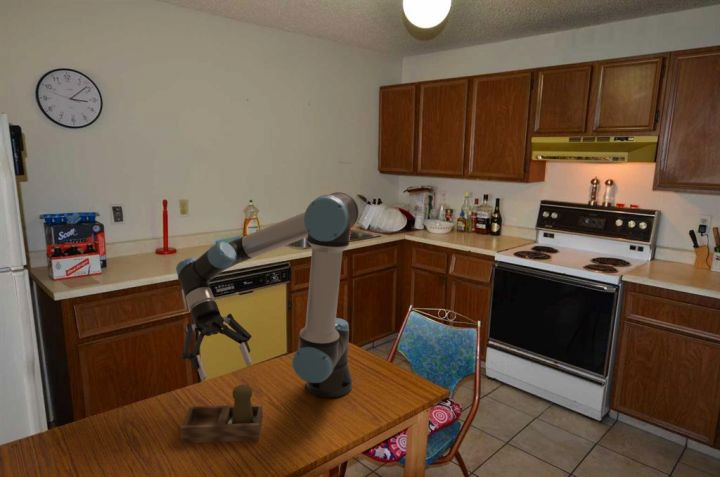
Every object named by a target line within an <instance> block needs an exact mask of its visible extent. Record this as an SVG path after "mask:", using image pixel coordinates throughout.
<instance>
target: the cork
mask: <svg viewBox="0 0 720 477" xmlns="http://www.w3.org/2000/svg"><path fill="white" fill-rule="evenodd" d="M252 395H253V389H252V387H251V386H250V385H247V384H239V385H236V386H235V387H234V388H233V390H232V398H233V400H234V403H233V405H234V410H233V418H232V424H242V423H254V419H253V412H252V406H251V405H252V401H251V398H252Z"/></svg>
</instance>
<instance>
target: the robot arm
mask: <svg viewBox="0 0 720 477" xmlns="http://www.w3.org/2000/svg"><path fill="white" fill-rule="evenodd" d="M358 218H359V206H358V203H357V202H356V200H355V199H354V198H353V197H352V196H351V195H349V194H348V193H345V192H339V191H338V192H337V191H336V192H332V193H330V194H322V195H320V196H318V197H316V198H315V199H314V200H312V201H311V202H310V203H309V205H307V208H306V210H305V211H304V212H302V213H299V214H296V215H294V216H291V217H289V218H287V219H286V218H285V219H284V220H281V221H280V222H276V223H274V224H271V225H269V226H267V227H264V228H261V229H259V230H257V231H254V232H252V233H250V234H246V235H245V236H241V237H239V238H236V239H233V240H230V241H229V242H226V241H223V240H222V241H218V242H217V243H215V244H213V245H212V246H210V247H209V248H208V250H206V251H205V252H204V253H203V254H202V255H201V256H199V257H198V258H196V257H188V258H185V259H184V260H181V261H179V262H178V264H176V266H175V271H176V274H177V279H178V282H179V284H180V286H181V289H182V291H183V292H184V296H185V297H184V298H185V299H186V302H187V306H188V308H189V310H190V313H191V316H192V319H193V321H194V323H191V322H188V323H187V324H186V326H185V328H184V331H185V339H184V344H183V345H184V346H183V350H182V355H181V358H182V359H183V360H187V359H188V361H189V362H191V365H192V367H193V369H194V371H196V370H197V372H198V375H199V377H200V380H201V382H204V381H205V380H206V379H207V377H208V374H207V372H206V370H205V366H204V364H203V361H202V358H201V355H200V354H197V353H198V351H199V349H200V347H201V345H202V342H203V340H204V338H205V336H206V337H212V336H215V335H218V334H221V335H224V336H226V337H228V338H229V339H230V340H233V341H234V342H235V343H238V344H239V347H238V348H239V350H240V353H241V356H242V358H243V360H244V364H245V366H246V367H249V366H250V365H251V364H252V363H253V360H252V358H251V355H250V352H251V349H250V345H249V344H248V342H249V341H250V339H251V338H252V337H253V336H252V335H251V334H250V332H248V331H247V330H246V329H245V328H244V327H243V326H242V325H241V324H240V323H239V322H238V321H237V320H235V318H234V316H233V314H232V313H228V314H227V315H226V316H224V317H223V316H222V315H221V311H220V310H219V307H218V304H217V302H216V301H215V300H216V298H215V296H214V294H213V292H212V288H211V285H210V284H209V282H210V281H212V280H213V279H214V278H215V277H217V276H218V275H220V274H221V273H222V272H224V271H226V270H228V269H230V268H232V267H234V266H235V265H238V264H241V263H243V262H247V261H248V260H250V259H253V258H255V257H258V256H261V255H263V254H266V253H268V252H272V251H275V250H277V249H280V248H282V247H284V246H285V247H286V246H287V245H290V244H293V243H295V242H298V241H301V240H304V239H306V238H307V243H308V244H309V246H310V247H311V256H310V258H311V260H310V270H309V280H308V281H309V282H308V291H307V292H308V293H307V295H308V296H307V302H306V303H307V304H306V313H305V314H306V316H305V326H304V327H303V328H301V329H300V331H299V336H298V337H299V338H298V348H297V350H296V351H295V353H294V354H293V357H292V361H291V362H292V363H291V364H292V368H293V371H294V372H295V374H296V375H298V377H299V378H300V379H302V380H304V382H306V389H307V391H308V392H309V393H310V394H312V395H314V396H316V397H320V398H328V399H329V398H330V399H331V398H338V397H342V396H345V395H347V394H348V393H350V392H351V390H352V389H353V377H352V374H351V370H350V368H349V364H348V363H349V359H348V358H349V340H350V339H349V336H350V334H349V333H350V329H349V328H350V326H349V322H348V321H347V320H345V319H343V318H340V317H339V318H338V317H337V311H338V310H337V309H338V301H339V291H340V280H341V271H342V270H341V269H342V262H343V251H344V250H345V249H346V248H348V247H349V245H350V238H351V236H350V235H351V228H352V227H353V226H354V225H355V224H356V222H358ZM195 330H197V331H198V332H199V335H198V337H197V339H196V342H195V344H194V346H193V348H192V351H191V343H192V338H193V333H194V331H195ZM190 351H191V352H190Z"/></svg>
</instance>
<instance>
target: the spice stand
mask: <svg viewBox="0 0 720 477" xmlns="http://www.w3.org/2000/svg"><path fill="white" fill-rule="evenodd" d="M251 406H252V412H253V419H254V423H242V424H232V418H233V410H234V404H232V405H199V406H195V405H194V406H190V407H189V409H188V411H187V412H186V415H185V417H184V420H182V424H181V426H180V428H179V429H180V444H199V443H203V444H205V443H224V442H226V443H227V442H228V443H229V442H248V441H249V442H250V441H252V442H253V441H255V442H256V441H260V437H261V432H262V425H263V421H264V420H263V419H264V416H263V415H264V414H263V413H264V410H263V403H262V404H261V403H260V404H251Z"/></svg>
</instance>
